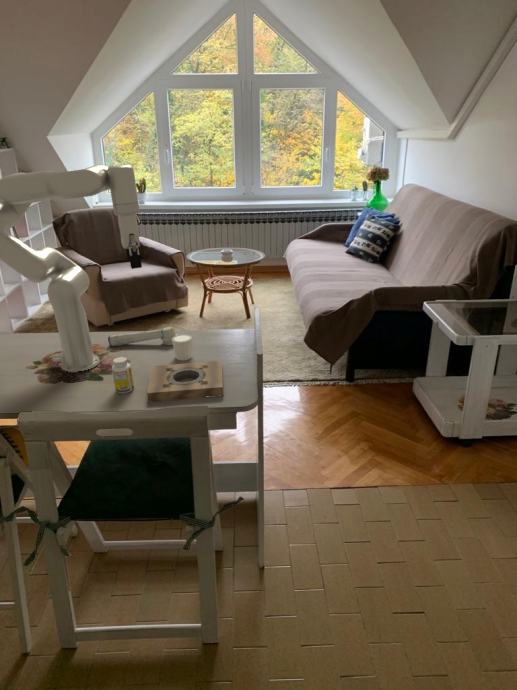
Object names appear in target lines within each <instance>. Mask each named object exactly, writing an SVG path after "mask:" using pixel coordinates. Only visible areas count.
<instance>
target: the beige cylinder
mask: <svg viewBox="0 0 517 690" xmlns="http://www.w3.org/2000/svg"><path fill="white" fill-rule="evenodd" d="M172 343H173V344H172V347H173V350H174V351H173V352H174V355H175V359H176V360H178V361H187V360H190V359H191V358H193V336H192V335H190V334H185V333H184V334H178V335H177V336H175V337H173V338H172Z"/></svg>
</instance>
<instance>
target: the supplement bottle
mask: <svg viewBox="0 0 517 690" xmlns="http://www.w3.org/2000/svg"><path fill="white" fill-rule="evenodd" d="M112 361H113V363H112V364H113V365H112V366H111V372H112V377H113V384H114V389H115V392H116V393H118V394H128V393H130V392H133V390H134V389H135V384H134V378H133V373H132V367H131V364H130V363H129V362H128V360H127V357H124V356H120V357H119V356H118V357H115V358H114V359H113V360H112Z"/></svg>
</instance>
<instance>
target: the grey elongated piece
mask: <svg viewBox="0 0 517 690" xmlns="http://www.w3.org/2000/svg"><path fill="white" fill-rule="evenodd" d="M177 335H179V333H178V332H176V331H175V328H174V327H173V326H167V327H164V328H162V329H154V330H146V331H138V332H128V333H119V332H118V333H117V334H114V335H113V334H112V335H109V336H108V340H107V341H108V345H109V346H110V347H115V346H117V347H118V346H119V347H121V346H123V345H129V344H134V343H139V342H144V341H145V342H146V341H152V340H157V339H160V340H161V341H162V343H163V345H165V346H166V345H167V346H173V343H172V338H173V337H175V336H177Z"/></svg>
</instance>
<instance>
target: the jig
mask: <svg viewBox="0 0 517 690" xmlns="http://www.w3.org/2000/svg"><path fill="white" fill-rule="evenodd" d="M223 376H224V374H223V361H222V360H215V361H213V360H212V361H203V362H202V361H201V362H189V363H186V362H185V363H177V364H176V363H175V364H163V365H153V366H152V369H151V374H150V378H149V382H148V386H147V390H146V391H147V392H146V396H147V403H153V402H155V403H156V402H164V401H165V402H166V401H167V402H169V401H179V400H189V399H190V400H191V399H200V398H199V397H206V396H218V397H220V396H219V395H223V396H224V377H223ZM190 379H192V380H191V381H183V380H190ZM182 381H183V382H182ZM206 398H207V397H206Z"/></svg>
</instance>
